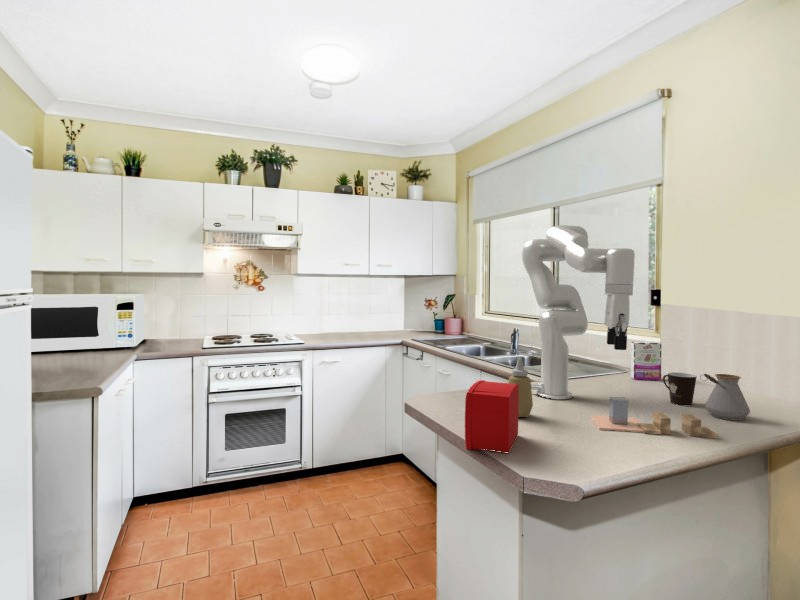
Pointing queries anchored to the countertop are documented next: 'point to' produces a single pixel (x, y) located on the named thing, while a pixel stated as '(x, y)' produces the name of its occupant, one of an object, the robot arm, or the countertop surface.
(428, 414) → the countertop surface
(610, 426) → the terracotta tile
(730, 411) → the coffee pot
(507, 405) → the red rounded box
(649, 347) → the candy bar box
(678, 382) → the coffee mug
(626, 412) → the metal block
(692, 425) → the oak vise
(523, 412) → the squeeze bottle
